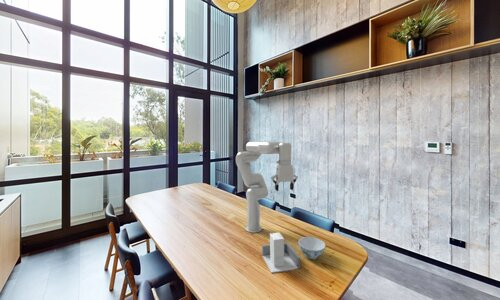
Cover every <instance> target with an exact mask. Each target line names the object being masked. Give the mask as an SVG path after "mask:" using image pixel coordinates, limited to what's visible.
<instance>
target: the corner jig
mask: <svg viewBox="0 0 500 300" xmlns="http://www.w3.org/2000/svg"><path fill="white" fill-rule="evenodd" d="M261 257H262V259H263V261H264V262H265V264H266V266H267V268H268V269H269V271H270V273H271V274H275V273H281V272H288V271H295V270H299V269H301V257H300V255H299V254H298V253H297V252H296V250H294V248H293V247H292V246H291V244H289V242H288V241H287V242H284V266H278V267H274V265H273V263H272V261H271V259H270V244H263V245H261Z"/></svg>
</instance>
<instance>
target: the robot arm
mask: <svg viewBox="0 0 500 300" xmlns="http://www.w3.org/2000/svg"><path fill="white" fill-rule="evenodd" d="M245 150H246V151H239V152H238V153H237V154H236V156H235V164H236V166H237V168H238V170H239V172H240V175H241V177H242V178H241V179H242V181H243V183H244V186H246V187H248V189H247V190H246V192H245V196H246V203H247V204H246V206H247V208H246V209H247V210H246V211H247V217H246V220H247V221H246V225H245V227H244V230H245V231H246V232H248V233H253V234H257V233H259V232H261V231H262V230H263V227H262V226H261V205H260V202H259V200H262V199H266V198H267V197H268V195H269V190H268V187H267V184H266V181H265V179H264V177H263V175H262V174H261V173H258V172H257V173H255V172H253V170H252V167H250V166H249V164H247V163H252V162H253V163H254V162H256V161H258V159H259V158H260V157H261V155H278V160H276V164H277V166H276V172H275V173H276V174H274V175H272V176H271V177H270V179H271V181H272V182H273V183H274V185H275V186H274V190H275V191H276V192H279V183H280V182H281V183H286V182H290V183H289V190H291V191H294V188H295V187H294V186H295V185H294V184H295V183H296V182H297V180H298V176H297V175H296V174H294V168H293V165H292V143H290V142H279V141H278V142H277V141H270V142H269V141H265V142H264V141H249V142H247V143H246V145H245ZM249 187H250V188H249Z"/></svg>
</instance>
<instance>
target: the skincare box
mask: <svg viewBox="0 0 500 300" xmlns="http://www.w3.org/2000/svg"><path fill="white" fill-rule="evenodd" d="M284 243H285V238H284V237H283V235H282V234H281V233H280V232H272V233H269V245H270V259H271V261H272V263H273V265H274V267H278V266H284Z"/></svg>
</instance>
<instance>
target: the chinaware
mask: <svg viewBox="0 0 500 300" xmlns="http://www.w3.org/2000/svg"><path fill="white" fill-rule="evenodd" d="M298 246H299V250H300V251H301V252H302V254H303V255H305V257H306V258H308V259H310V260H315V259H318V257H320V256H322V255H323V253H324V252H325V249H326V243H325V242H324V241H323V240H321V239H320V238H316V237H312V236H303V237H301V238H299V240H298Z"/></svg>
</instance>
